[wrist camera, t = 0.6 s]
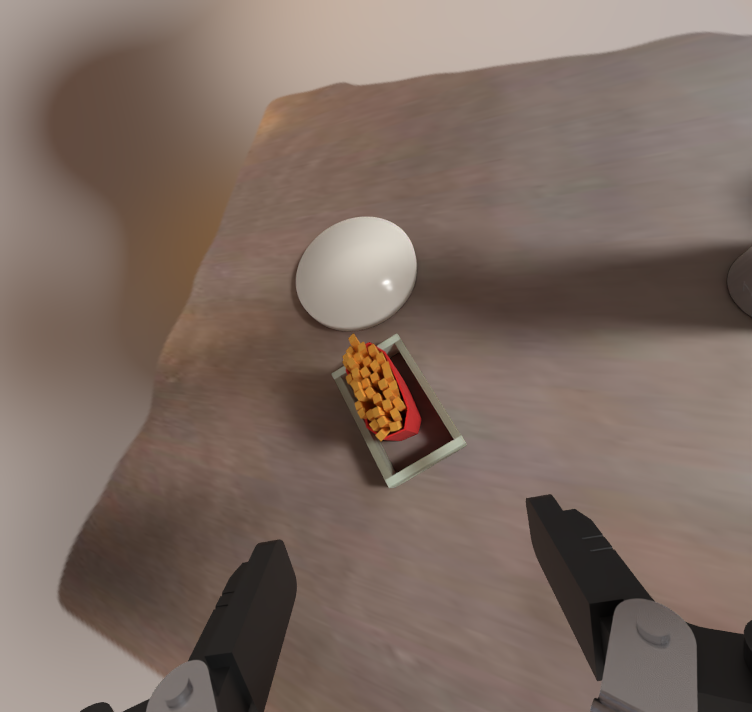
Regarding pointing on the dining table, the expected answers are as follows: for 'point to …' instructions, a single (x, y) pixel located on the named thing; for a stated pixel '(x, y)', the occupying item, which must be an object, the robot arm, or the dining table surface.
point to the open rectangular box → (373, 443)
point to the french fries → (380, 392)
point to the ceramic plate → (357, 274)
